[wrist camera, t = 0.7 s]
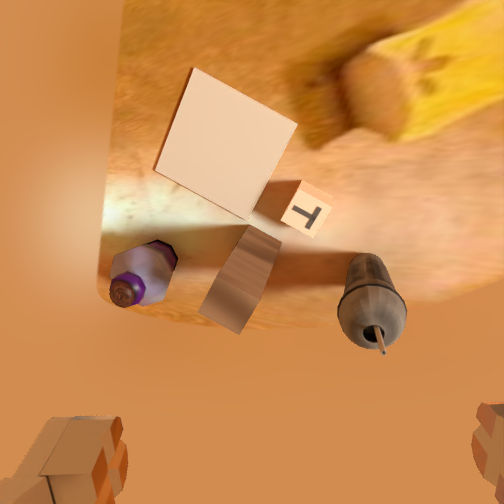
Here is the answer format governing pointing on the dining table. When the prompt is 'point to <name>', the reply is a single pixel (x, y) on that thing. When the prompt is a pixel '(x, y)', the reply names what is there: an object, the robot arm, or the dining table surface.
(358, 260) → the beverage cup
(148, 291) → the potion bottle
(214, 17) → the dining table surface
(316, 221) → the letter cube
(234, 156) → the white square plate
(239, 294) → the walnut block
